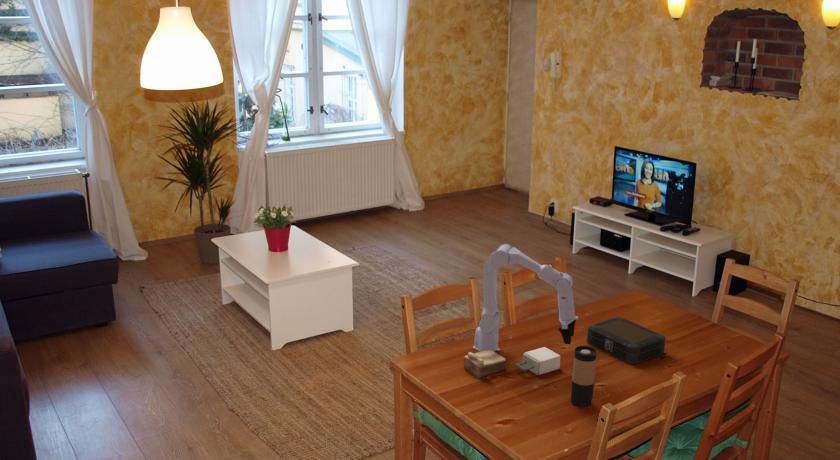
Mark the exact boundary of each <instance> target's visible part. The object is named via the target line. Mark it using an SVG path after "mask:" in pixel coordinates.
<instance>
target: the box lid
mask: <svg viewBox="0 0 840 460" xmlns="http://www.w3.org/2000/svg"><path fill="white" fill-rule="evenodd" d="M464 358H466V359H467V360H469V361H470V362H472V363H473V364H475V365H476V366H478V367H480V368H483V367H486V366H490V365H493V364H496V363H500V362H503V361H506V362H507V359H506V357H504V356H502V355H501V354H499V353H497V352H496V351H492V350H490V349H488V350H485V351H481V352H480V351H477V352H475V353H473V352H472V351H469V352H467V355H464ZM464 358H463V359H464Z"/></svg>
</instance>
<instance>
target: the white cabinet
mask: <svg viewBox="0 0 840 460" xmlns="http://www.w3.org/2000/svg"><path fill="white" fill-rule="evenodd" d="M523 354H526V355H528V356H530V357H531V358H533V359H535V360H537V361H538V362H540V366H539V375H543V374H547V373H550V372H553V371H556V370H560V369H561V367H560V366H561V365H560V364H561V355H560V354H558V353H556V352H554V351H553V350H551V349H549V348H548V347H546V346H543V347H539V348H536V349H533V350H529V351H525V352H523Z"/></svg>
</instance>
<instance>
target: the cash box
mask: <svg viewBox="0 0 840 460" xmlns="http://www.w3.org/2000/svg"><path fill="white" fill-rule="evenodd" d="M586 335H587V336H586V343H587V344H588V345H590V346H593V348H597V350H598V349H599V350H600V351H603V352H604V353H607V354H609V355H611V356H612V357H615V358H617V359H619V360H621V361H623V362H625V363H627V364H629V365H636V364H640V363H642V362H645V361H648V360H651V359H653V358H655V357H659V356H661V355H663V354H665V345H666V338H667V337H665V336H664V335H663V334H661V333H659V332H655V331H653V330H651V329H650V328H649V329H648V328H646V327H645V326H642V325H639V324H638V323H635V322H633V321H631V320H628V319H626V318H623V317H622V316H618V317H617V316H616V317H614V318H610V319H607V320H604V321H600V322H597V323H593V324H590V325H588V327H587V334H586Z"/></svg>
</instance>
